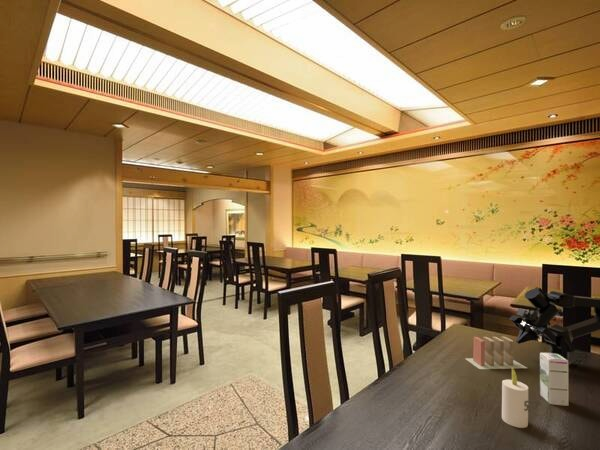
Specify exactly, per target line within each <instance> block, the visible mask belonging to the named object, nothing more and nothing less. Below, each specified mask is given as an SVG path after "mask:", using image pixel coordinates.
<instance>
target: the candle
mask: <svg viewBox="0 0 600 450" xmlns="http://www.w3.org/2000/svg"><path fill="white" fill-rule="evenodd" d="M529 402H530V401H529V386H528V385H527V384H525V383H523V382H521V381H520V380H519V381H518V377H517V373H516V371H515V369H513V368H512V369H511V379H503V380H502V381H501V419H502V421H503V422H505V423H506V424H508V425H509V426H512V427H515V428H519V429H525V428H528V425H529Z"/></svg>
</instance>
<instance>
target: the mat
mask: <svg viewBox="0 0 600 450" xmlns="http://www.w3.org/2000/svg"><path fill="white" fill-rule="evenodd" d="M464 359H465V360H466V361H468V363H470V364H471V365H473V366H474V367H476V368H477V369H479V370H498V369H499V370H505V369H507V370H508V369H509V370H510V369H511V370H512V368H513V369H514V370H515V369H528V367H527V366H525V365H523V364H521V363H520V362H518V361H516V360H515V359H513V366H509V365H507V364H506V363H504V366H499V365H498V364H496V363H495V362H494V366H490V365H488V364H487V363H485V366H480V365H478V364H477V363H476V362H474V361H473V357H471V358H468V357H466V358H464Z"/></svg>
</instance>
